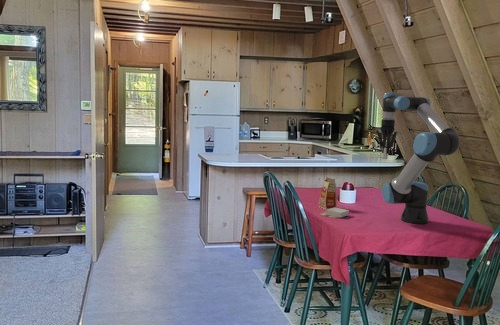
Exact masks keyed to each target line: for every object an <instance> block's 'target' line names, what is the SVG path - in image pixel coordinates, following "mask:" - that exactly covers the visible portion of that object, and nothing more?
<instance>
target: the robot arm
mask: <svg viewBox="0 0 500 325" xmlns="http://www.w3.org/2000/svg"><path fill="white" fill-rule="evenodd" d="M397 110H398V111H415V112H416V114H417V115H419V117H420V118H421V119H422V120H423V121H424V123H425V125H426V126H428V128H429V129H430V130H431V131H424V132H420V133H418V134H417V135H416V137H415V138H414V140H413V145H412V146H413V155H412V156H411V157H410V159H409V160H408V161H407V163H406V165H404V167H403V169H402V170H401V172H400V174H399V175H398V176H397V177H394V178H392V179H391V181H390V182H385V183H384V184H383V185H382V188H381V195H382V198H383V200H384V202H385V203H386V204H391V205H394V204H395V205H398V204H399V205H400V204H404V205H405V206H404V208H403V211H402V213H401V215H400V220H401V221H403V222H405V223H408V224H409V223H410V224H415V225H416V224H418V225H425V224H424V223H426V224H428V223H429V214H428V212H427V202H428V195H429V194H428V193H429V186H428V184H427V183H425V182H421V181H416V180H417V179H418V178H419V177H420V175H421V174H422V172H423V171H424V170H425V168H426V167H427V166H428V164H429V163H432V162H434V161H435V160H436V159H437V157H438V156H451V155H454V154H455V153H456V152H457V151H458V150H459V148H460V145H461V139H460V135H459V133H458V132H457V131H456V130H455V129H454V128H453V127H449V125H448V124H447V123H446V122H445V121H444V120H443V119H442V118H441V116H440V115H439V114H438V113H437V112H436V111H435V110H434V109H433V108H432V107H431V102H430V99H429V98H427V97H423V96H422V97H419V96H418V97H417V96H403V95H402V96H401V95H400V96H398V94H397V93H396V92H385V93H384V94H383V98H382V110H381V122H380V123H381V125H380V126H381V127H380V129H378V130H376V133H377V137H378V143H379V147H381V148H382V149H381V150H382V152H381V153H382V154H383V155H382V160H387V159H388V157H389V154H390V149H391V148H393V147H394V144H395V141H396V138H397V135H399V131H397V130H396V128H395V119H396V112H397Z"/></svg>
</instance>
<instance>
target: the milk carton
mask: <svg viewBox="0 0 500 325" xmlns="http://www.w3.org/2000/svg"><path fill="white" fill-rule="evenodd" d="M325 178H326V179H325V180H324V182H323V185H322V188H321V192H320V196H319V200H318V207H319V208H320V207H321V208H320V209H322V208H323V210H324V209H325V210H324V211H326V210H327V209H331V208H334V207H335V208H338V206H337V204H338V201H337V200H338V197H337V194H338V193H337V184H336V178H330V177H327V176H325Z"/></svg>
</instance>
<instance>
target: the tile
mask: <svg viewBox="0 0 500 325" xmlns="http://www.w3.org/2000/svg"><path fill="white" fill-rule="evenodd" d="M325 212H326V215H330V216H335V217H339V218H344V217H346V216H350V210H348V209H344V208H339V207H336V208H335V207H334V208H331V209H327V210H325ZM339 218H338V219H339Z"/></svg>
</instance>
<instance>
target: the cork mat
mask: <svg viewBox="0 0 500 325" xmlns="http://www.w3.org/2000/svg"><path fill="white" fill-rule="evenodd" d="M318 215H319V216H323V217H328V218H332V219H336V220H337V219H339V217H335V216H330V215H326V211H324V212H322V213H319V214H318Z"/></svg>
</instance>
